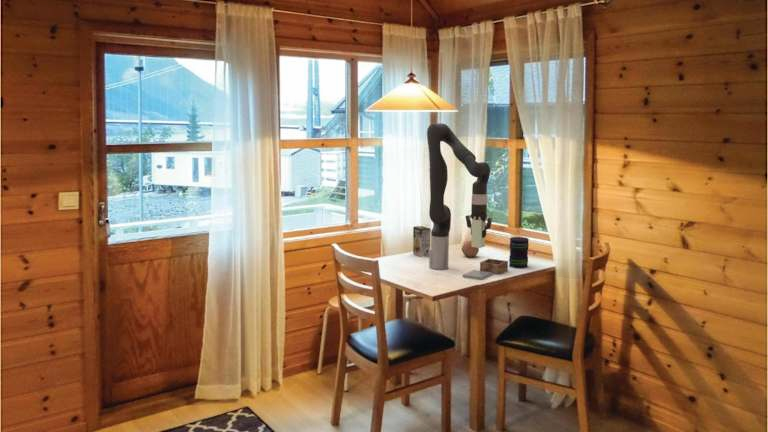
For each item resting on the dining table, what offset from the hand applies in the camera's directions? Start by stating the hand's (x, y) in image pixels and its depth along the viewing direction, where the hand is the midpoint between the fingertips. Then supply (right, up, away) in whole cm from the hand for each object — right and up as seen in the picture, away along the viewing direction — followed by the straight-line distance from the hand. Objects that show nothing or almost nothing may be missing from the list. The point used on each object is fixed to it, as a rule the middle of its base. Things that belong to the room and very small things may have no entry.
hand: (478, 236), depth 328 cm
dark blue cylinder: (+25, -17, +25) cm, 39 cm away
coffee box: (-25, -12, +52) cm, 59 cm away
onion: (+2, -13, +48) cm, 50 cm away
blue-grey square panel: (0, -20, +3) cm, 20 cm away
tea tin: (0, -5, +1) cm, 5 cm away
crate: (+10, -18, +13) cm, 24 cm away
